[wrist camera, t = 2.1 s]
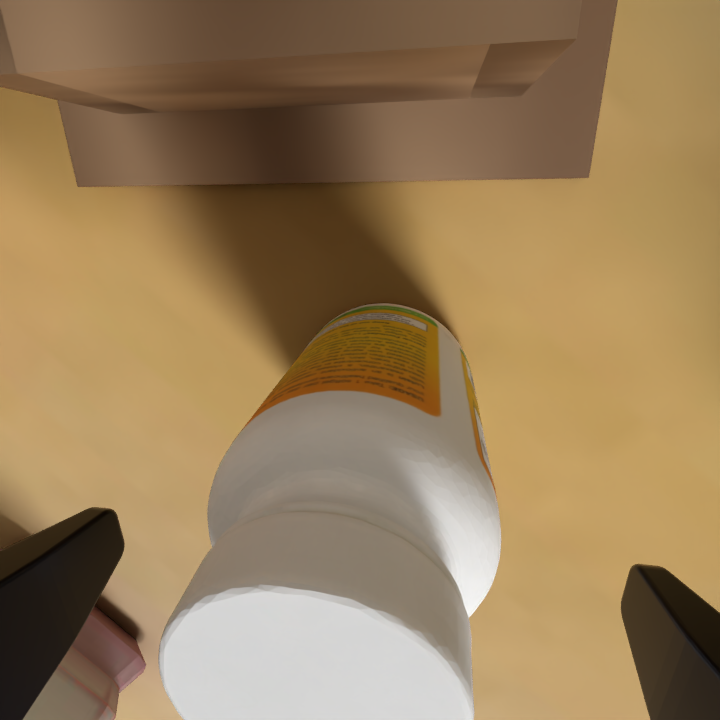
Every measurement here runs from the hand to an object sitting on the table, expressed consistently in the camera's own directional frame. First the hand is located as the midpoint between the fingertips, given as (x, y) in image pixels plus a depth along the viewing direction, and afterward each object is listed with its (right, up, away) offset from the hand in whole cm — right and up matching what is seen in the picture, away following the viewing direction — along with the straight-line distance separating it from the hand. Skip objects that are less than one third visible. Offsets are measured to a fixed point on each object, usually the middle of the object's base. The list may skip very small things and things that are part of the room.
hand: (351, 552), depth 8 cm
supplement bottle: (+1, +3, +7) cm, 7 cm away
